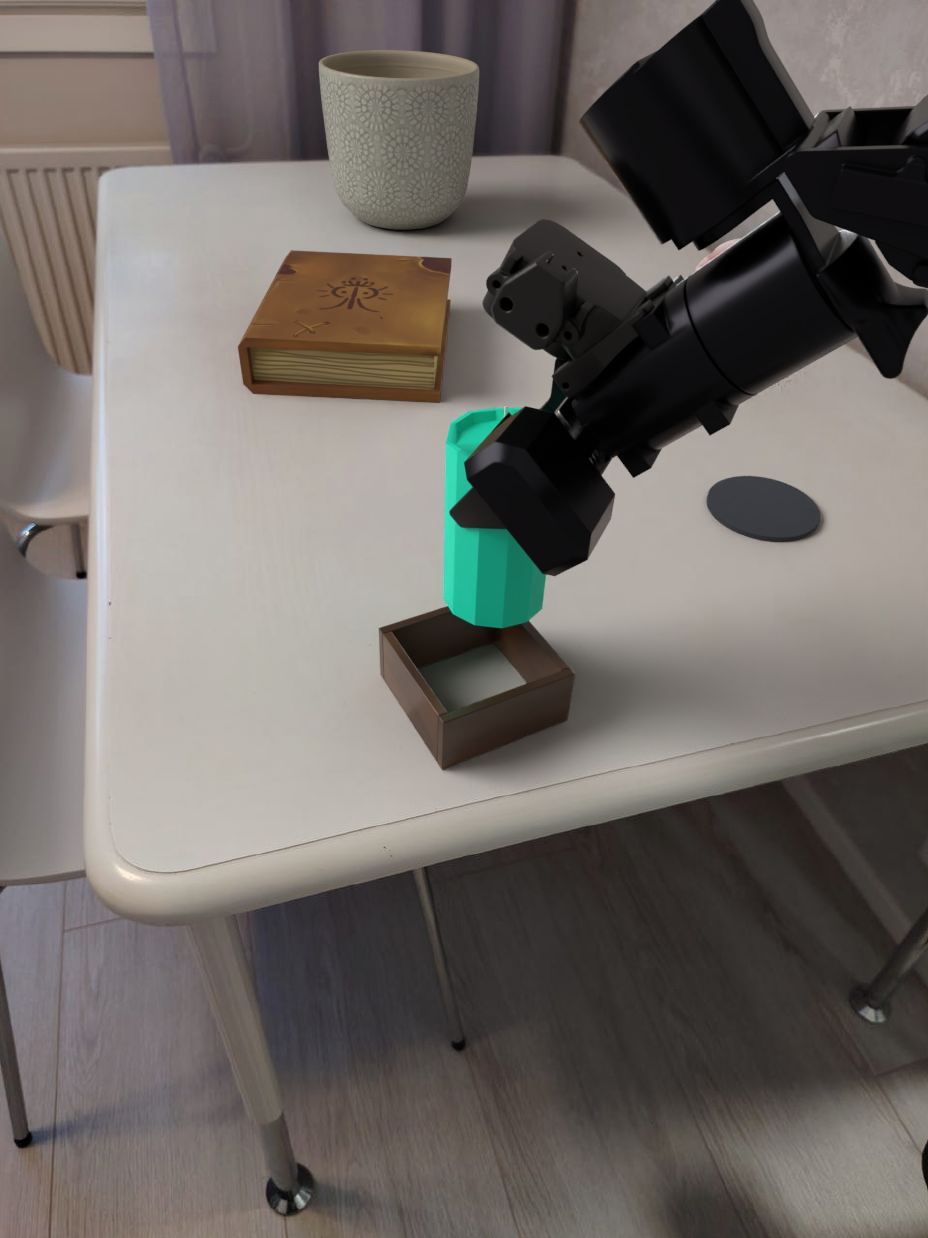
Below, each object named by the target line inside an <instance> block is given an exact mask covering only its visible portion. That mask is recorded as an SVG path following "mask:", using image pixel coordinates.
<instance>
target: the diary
mask: <svg viewBox="0 0 928 1238" xmlns="http://www.w3.org/2000/svg"><path fill="white" fill-rule="evenodd" d="M452 260H453V259H452V257H439V256H438V257H437V256H435V257H434V256H416V255H397V254H396V255H395V254H374V253H373V254H372V253H353V252H333V251H313V250H311V251H310V250H293V249H292V250H290V251H289V253H288V254H287V255H286V256H285V257H284V259H283V260H282V262H281V264H280V266H279V267H278V270H277V272H276V274H275V276H274V278H273V279H272V281H271V283H270V285H269V287H268V289H267V291H266V292H265V295H264V296H263V298H262V300H261V302H260V304H259V306H258V308H257V310H256V311H255V314H254V315H253V317H252V319H251V321H250V323H249V325H248V327H247V328H246V330H245V332H244V334H243V336H242V338H241V339H240V341H239V343H238V345H237V351H238V358H239V364H240V372H241V378H242V385H243V386H245V387H246V389H248V390H249V391H250V392H251V393H252V394H258V395H275V396H276V395H277V396H278V395H279V396H298V397H300V396H301V397H317V398H319V397H320V398H338V399H339V398H340V399H359V400H360V399H361V400H378V401H379V400H380V401H381V400H382V401H398V402H399V401H400V402H421V403H440V402H441V401H440V400H441V393H442V392H441V391H442V383H443V376H444V375H443V374H444V365H445V357H446V349H447V339H448V332H449V331H448V330H449V325H450V324H449V322H450V314H451V303H452V302H451V301H452V300H451V299H448V297H449V290H450V282H451V273H452V263H453V261H452Z"/></svg>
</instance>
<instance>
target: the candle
mask: <svg viewBox="0 0 928 1238" xmlns="http://www.w3.org/2000/svg"><path fill="white" fill-rule="evenodd" d="M523 407H524V406H520V407H519V406H517V407H510V406H509V407H508V405H504V407H489V408H480V409H474V410H473V409H472V410H467V411H466V412H464V413H463V414H462V415H460V416H458V417H457V418H455V419H454V420H452V421H450V423H449V426H448V429H447V430H448V431H447V436H446V440H445V458H444V461H445V462H444V465H445V466H444V518H443V519H444V523H443V525H444V526H443V575H442V576H443V580H442V581H443V582H442V583H443V584H442V585H443V587H442V599H443V600H444V602H445V604H446V605H447V606H448V607H449V608H450V610H451V612H452V613H453V614H454V615H456V616H458V617H460V618H462V619H464V620H465V621H467V622H469V623H471V624H473V625H477V626H486V627H495V628H505V627H509V626H513V625H517V624H521V623H525V622H528V621H530V620H532V618H534V617H535V616H536V615H537V614H538V613H539V612H540V611H542V610H543V606H544V605H543V604H544V596H545V588H546V579H547V575H546V574H542V573H541V571H540V570H539V569H538V568H537V566H536V565H535V564H534V563H533V561H532V560H531V559H530V558H529V556H528V555H527V554H526V553H525V552H524V550H523V549H522V548H521V547H520V545H519V544H518V543H517V542H516V540H515V539H514V538H513V537H512V535H511V534H510V533H509V532H508V530H507V529H483V528H462V527H460V526H459V525H458V524H457V523H456V522H455V521H454V519H453V518H452V517H451V516H450V514H449V511H450V509H451V508H452V507H453V506H454V505H455V504H456V503H457V502H458V501H459V500H460V499H461V498H462V497H463V496H464V495H465V494H466V493H467V492H468V491H469V490H470V488H471V487H472V486H471V484H470V483H469V482H468V481H467V478H466V472H465V466H464V462H465V461H466V460H467V458H468V457H469V456H470V455H471V454H472V453H473V452H474V451H475V449H476V448H477V447H478V446H479V445H480V444H481V443H482V442H483V440H484V439H485V438H486V437H487V436H488V435H489V434H490V433H491V431H492V430H493V429H494V428H495V427H496V426H497V425H498V424H499V422H500V421H501V420H502V419H503V418H504V417H505V416H506V415H507V413H508V412H510V414H511V415H513V414H515V413H516V412H518V411H519V410H520V409H522V408H523Z"/></svg>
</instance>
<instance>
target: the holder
mask: <svg viewBox="0 0 928 1238" xmlns="http://www.w3.org/2000/svg"><path fill="white" fill-rule="evenodd" d="M493 643H494V644H495V646H497V648H498V649H499V651H500V652H501V653H502V654H503V655H504V657H505V658H506V659H507V660H508V661H509V663H510V664H511V665H512V667H513V668H514V669H515V670H516V671H517V672H518V674H519V675H520V676H521V678H522V679H523V680H524V681H525V684H521V685H519V686H516V687H514V688H510V689H509V690H505V691H503V692H500V693H498V694H495V695H492V696H490V697H486V698H484V699H482V700H478V701H476V702H474V703H470V704H467V705H465V706H462V707H460V708H457V709H454V710H451V711H449V712H448V711H447V710H446V708H445V707H444V705H443V703H442V702H441V701H440V699H439V698H438V697H437V695H436V693H435V692H434V691H433V689H432V688H431V686H430V685H429V684H428V682H427V681H426V679H425V678H424V677H423V675H422V673H421V672H420V671H419V669H421V668H424V667H427V666H429V665H432V664H435V663H438V662H442V661H444V660H446V659H449V658H453V657H455V656H458V655H461V654H464V653H467V652H470V651H473V650H477V649H479V648H481V647H484V646H487V645H490V644H493ZM378 649H379V673H380V677H381V678H382V679H383V681H384V682H385V684H386V686H388V689H389V690H390V692H391V693H392V695H393V697H394V698H395V700H396V701H397V703H398V704H399V706H400V707H401V709H402V710H403V712H404V714H405V715H406V716H407V718H408V719H409V721H410V722H411V724H412V726H413V728H414V729H415V730H416V732H417V733H418V735H419V736H420V738H421V740H422V741H423V742H424V744H425V746H426V747H427V749H428V751H429V752H430V753H431V755H432V757H433V758H434V760H435V761H436V762H437V764H438V766H439V767H440V769H441V770H446V769H448V768H451V767H453V766H456V765H459V764H460V763H464V762H465V761H468V760H470V759H474V758H475V757H478V756H481V755H483V754H487V753H488V752H490V751H493V750H495V749H498V748H501V747H503V746H506V745H508V744H512V743H513V742H516V741H518V740H520V739H523V738H526V737H529V736H531V735H533V734H536V733H538V732H541V731H544V730H545V729H549V728H551V727H554V726H555V725H556V726H557V725H559V724H561V723H563V722H566V721H568V719H569V713H570V707H571V701H572V697H573V696H572V695H573V691H574V684H575V679H576V678H575V677H576V673H575V671H574V670H573V669H572V668H571V667H570V666H569V665H568V663H567V662H566V661H565V660H564V658H562V656H561V655H560V654H559V653H558V652H557V651H556V650H555V648H554V647H553V646H552V645H551V644H550V643H549V642H548V641H547V639H546V638H545V637H544V636H543V635H542V633H540V632H539V630H538V629H537V628H536V627H535V626H534V625H533V623H532V622H531V621H530V620H529V621H528V622H525V623H521V624H517V625H513V626H509V627H505V628H495V627H486V626H477V625H473V624H471V623H469V622H467V621H465V620H464V619H462V618H460V617H458V616H456V615H454V614H453V613H452V612H451V610H450V608H449V607H448V605H447V606H443V607H440V608H436V609H434V610H430V611H427V612H424V613H421V614H418V615H415V616H411V617H409V618H406V619H402V620H399V621H396V622H393V623H390V624H387V625H384V626H383V625H382V626H380V627H378Z"/></svg>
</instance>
